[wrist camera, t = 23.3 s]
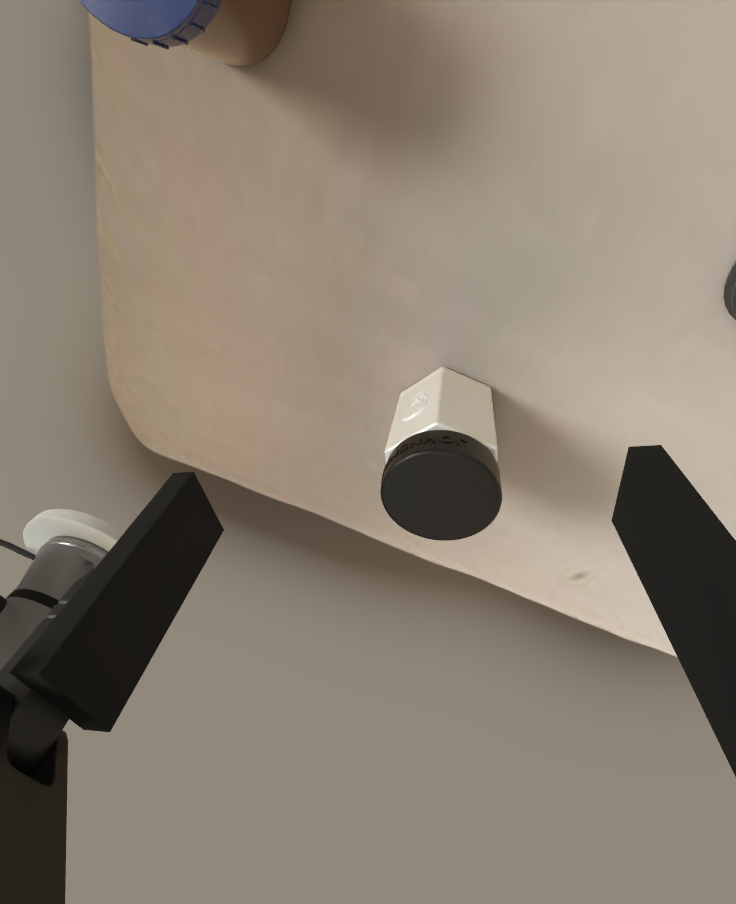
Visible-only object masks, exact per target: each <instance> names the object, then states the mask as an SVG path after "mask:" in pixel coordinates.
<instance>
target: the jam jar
mask: <svg viewBox="0 0 736 904" xmlns="http://www.w3.org/2000/svg"><path fill="white" fill-rule="evenodd" d="M289 7H290V0H222V1H221V3H220V6H219V8H218V9H219V12H216V14H215V16H214V17H213V19H212V21H211V22H210V23H209V24H208V26H207V27H206V28H205V32H204V33H203V32H201V33H200V34H199V35H198V36H197V37H196V38H194V39H192V40H190V41H189V42H188V45H185V44H181V45H180V46H183V47H185V48H188V49H190V50H193V51H195V52H198V53H200V54H203V55H205V56H208V57H211V58H213V59H216V60H218V61H221V62H223V63H226V64H229V65H233V66H241V67H242V66H250V65H253V64H256V63H257V62H259V61H261V60H263V59H264V58H265V57H266V56H268V55H269V54H270V52H271V51H272V50H273V49H274V48H275V46H276V45H277V43H278V41H279V39H280V38H281V36H282V33H283V31H284V28H285V25H286V22H287V18H288V14H289Z"/></svg>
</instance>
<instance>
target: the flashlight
mask: <svg viewBox="0 0 736 904" xmlns="http://www.w3.org/2000/svg"><path fill="white" fill-rule="evenodd" d="M724 300H725V306H726V308H727V310H728V312H729V313H730V314H731V315H732V316H733V317H734V318H735V319H736V264H735V265H734V267H733V269H732V270H731V272H730V274H729V276H728V279H727V282H726V285H725V291H724Z"/></svg>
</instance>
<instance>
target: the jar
mask: <svg viewBox="0 0 736 904" xmlns="http://www.w3.org/2000/svg"><path fill="white" fill-rule="evenodd" d="M384 453H385V459H386V465H385V469H384V472H383V475H382V481H381V499H382V503H383V505H384V508H385V510H386V511H387V513H388V514H389V516H390V517H391V518H392V519H393V520H394V521H395V522H396V523H397V524H398V525H399V526H401V527H402V528H404V529H405V530H407V531H409V532H411V533H413V534H415V535H418V536H420V537H424V538H428V539H433V540H457V539H462V538H466V537H469V536H472V535H474V534H477V533H478V532H480V531H482V530H483V529H485V528H486V527H487V526H488V525H490V524H491V523H492V521H493V520H494V519H495V518H496V516H497V514H498V512H499V510H500V507H501V503H502V491H501V482H500V473H499V467H498V447H497V438H496V429H495V420H494V411H493V403H492V394H491V388H490V387H489V386H487V385H484V384H482V383H480V382H478V381H475V380H473V379H471V378H468V377H466V376H464V375H461V374H459V373H457V372H454V371H452V370H450V369H447V368H445V367H441V368H439V369H437V370H436V371H434V372H433V373H431V374H430V375H428V376H426V377H425V378H423V379H422V380H420V381H419V382H417V383H416V384H414V385H412V386H411V387H409V388H408V389H406V390H405V391H403V392H402V393H401V394H400V396H399V400H398V404H397V407H396V411H395V415H394V418H393V422H392V426H391V429H390V433H389V437H388V440H387V444H386V448H385V451H384Z"/></svg>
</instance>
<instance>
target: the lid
mask: <svg viewBox="0 0 736 904" xmlns="http://www.w3.org/2000/svg"><path fill="white" fill-rule="evenodd" d="M221 1H222V0H79V2H80V3H81V4H82V5H83V6H84V7H85V8H86V9H87V10H88V11H89V12H90V13H91V14H92V15H93V16H94V17H96V18H97V19H98V20H99V21H100V22H102V23H103V24H104V25H106V26H108V27H109V28H110V29H112V30H114V31H116V32H118V33H120V34H123V35H125V36H127V37H130V38H131V40H132V41H135V42H138V43H141V44H143V45H146V46H148V44H151V45H154V46H159V47H162V48H165V49H169V47H172V46H179V45H181V44H185V45H188V42H189V41H190V40H192V39H194V38H196V37H197V36H198V35H199V34H200V33H201V32H203V33H204V32H205V28H206V27H207V26H208V24H209V23H210V22H211V21H212V19H213V17H214V16H215V14H216V12H219V9H218V8H219V6H220V3H221Z"/></svg>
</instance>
